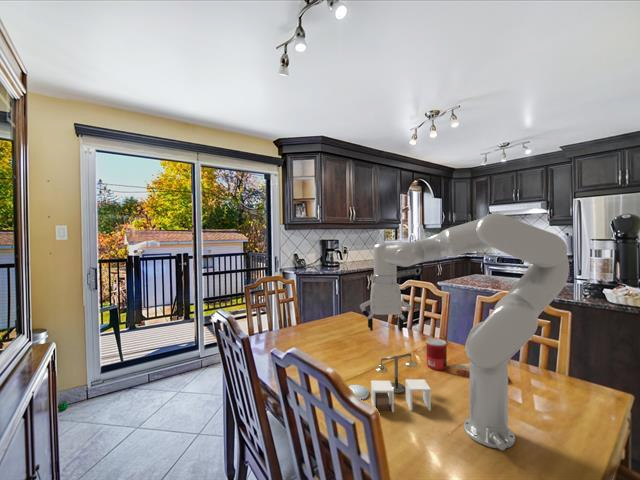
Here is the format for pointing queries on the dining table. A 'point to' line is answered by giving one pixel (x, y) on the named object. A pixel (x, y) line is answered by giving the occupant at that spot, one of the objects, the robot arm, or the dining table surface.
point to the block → (382, 400)
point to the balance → (396, 371)
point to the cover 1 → (382, 387)
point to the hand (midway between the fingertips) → (385, 329)
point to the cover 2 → (418, 386)
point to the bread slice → (461, 370)
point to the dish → (360, 391)
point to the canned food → (436, 354)
